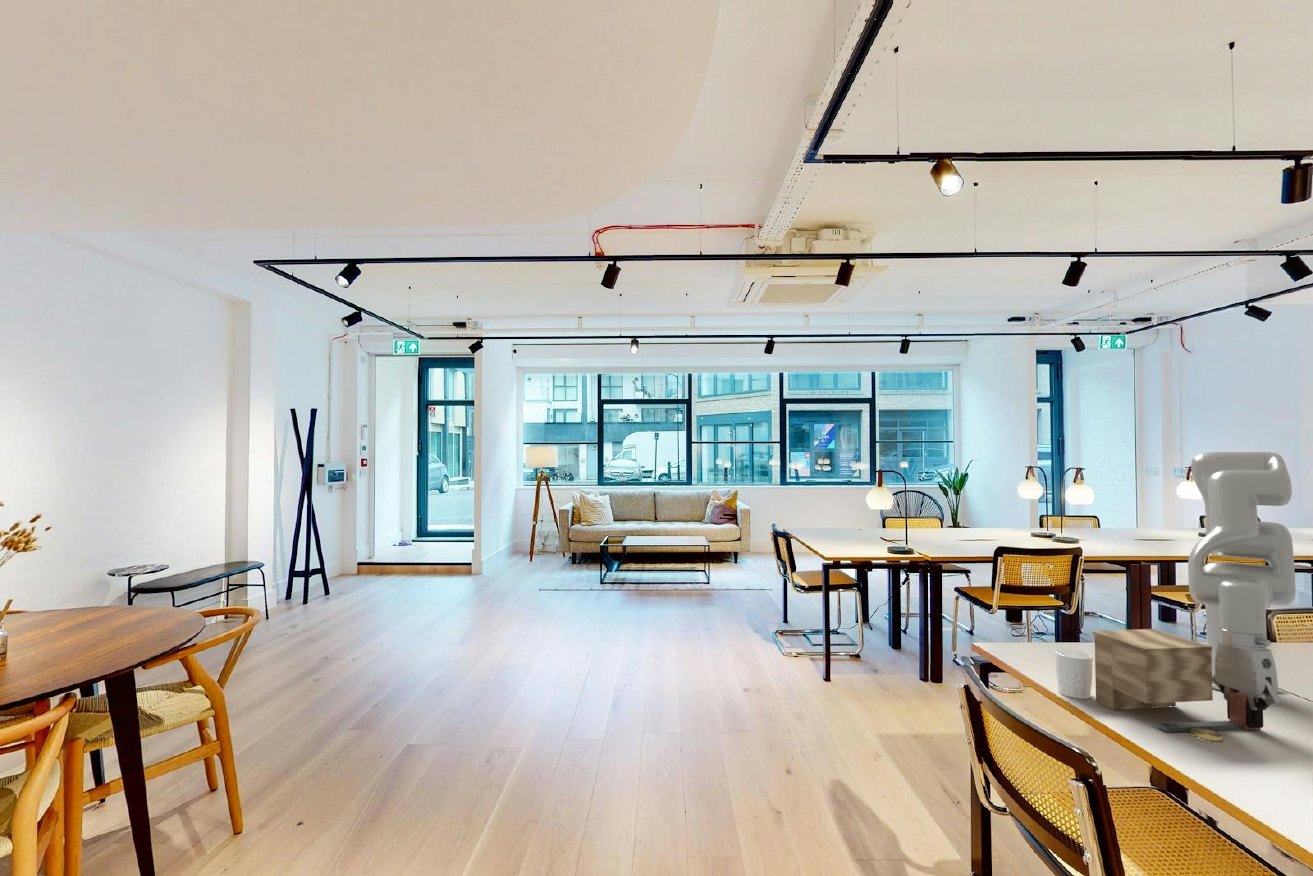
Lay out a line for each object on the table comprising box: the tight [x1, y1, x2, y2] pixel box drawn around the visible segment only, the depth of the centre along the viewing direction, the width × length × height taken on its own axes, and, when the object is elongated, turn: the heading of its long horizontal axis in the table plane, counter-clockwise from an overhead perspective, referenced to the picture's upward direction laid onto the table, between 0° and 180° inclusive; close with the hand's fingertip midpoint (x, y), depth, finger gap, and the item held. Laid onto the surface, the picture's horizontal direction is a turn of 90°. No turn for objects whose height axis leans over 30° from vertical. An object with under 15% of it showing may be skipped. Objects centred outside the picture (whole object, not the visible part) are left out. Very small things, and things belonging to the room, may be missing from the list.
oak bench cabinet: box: [1092, 628, 1214, 711], centre depth 145 cm, size 16×14×17 cm
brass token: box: [1190, 728, 1223, 743], centre depth 132 cm, size 5×5×1 cm
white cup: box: [1054, 648, 1094, 700], centre depth 156 cm, size 8×8×10 cm
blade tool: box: [1158, 691, 1262, 733], centre depth 136 cm, size 21×4×7 cm, turn 96°
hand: (1245, 722), depth 137 cm, fingers closed on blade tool, 3 cm apart
